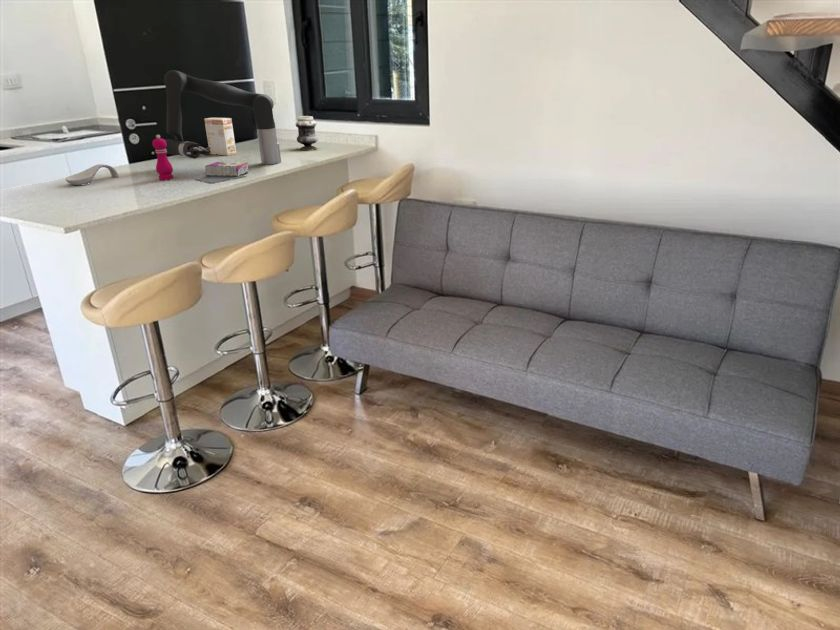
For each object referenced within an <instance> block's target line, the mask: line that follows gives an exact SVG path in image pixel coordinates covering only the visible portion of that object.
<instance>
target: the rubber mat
mask: <svg viewBox="0 0 840 630" xmlns="http://www.w3.org/2000/svg"><path fill="white" fill-rule="evenodd" d="M242 177H243V178H247V175H244V174H242V175H240V176H205V177H200V178H195V179H194V180H195V181H198V180H199V182H202V181H204V182H203V183H207V182H208V184H211V183H212V184H216V183H215V182H217V183H221V182H220V181H222V182H226V181H225V180H227V181H231V180H230V179H233V180H237V178H238V179H242Z"/></svg>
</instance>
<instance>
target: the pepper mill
mask: <svg viewBox="0 0 840 630" xmlns="http://www.w3.org/2000/svg"><path fill="white" fill-rule="evenodd" d="M165 140H166V139H164V138H161V135H160V134H156V135H155V138H154V139H153V140H152V147H153V148H154V149H155V150H154V153H156V157H157V158H156V159H157V162H156V166H155V171H156V173H157V174H158V179H159V181H170V179H171V180H173V179H174V174H173V171H174V169H173V166H172V164H171V161H169V158H168V155H167V153H166V152H167V149H165V148H166V146H167V143H166V141H165Z"/></svg>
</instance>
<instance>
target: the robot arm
mask: <svg viewBox="0 0 840 630" xmlns="http://www.w3.org/2000/svg"><path fill="white" fill-rule="evenodd" d="M164 87H165V92H166V93H165V94H166V133H167V134H168V135H171V136H173V137H174V138H175V139H170V138H169V139H168V138H167V139H164V140H165V141H166V143H167V146H166V148H165V149H167V152H166V155H167V154H168V155H175V156H176V155H178V156H180V157H185V158H188V159H194V160H195V159H198V158H200V156H210V155H211V154H210V153H211V148H210V147H209V146H208V147H206V148H205V147H203V146H201V144H199V143H197V142H195V141H188V140H187V141H184V138H183V136H184V135H183V132H182V131H183V129H182V128H183V127H182V125H183V115H182V114H183V113H182V108H181V95H182V92H185V93H190V94H191V93H192V94H195V95H196V94H197V95H199V96H201V97H204V98H206V99H207V100H210V101H213V102H217V103H221V104H226V105H229V106H230V105H231V106H241V107H246V108H249V109H252V110H253V117H254V122H255V125H256V132H257V140H258V147H259V154H260V162H261V163H260V164H262V165H276V164H279V163H282V158H281V150H280V149H281V148H280V142H278V136H277V130H276V122H275V119H274V112H273V109H274V106H275V105H274V101H273V98H272V97H270V96H269V95H267V94H265V93H264V94H263V93H258V92H250V91H246V90H244V89H242V88H238V87H235V86H232V85H229V84H227V83H223V82H220V81H215V80H209V79H203V78H197V77H195V76H192V75H189V74H186V73H185V72H182V71H179V70H174V69H171V70H168V71H167V72H166V73H165V74H164Z"/></svg>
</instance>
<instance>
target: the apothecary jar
mask: <svg viewBox="0 0 840 630" xmlns="http://www.w3.org/2000/svg"><path fill="white" fill-rule="evenodd" d="M295 126H296V128H297V131H298V135H297V137H296V141H297V143H299V144H301V145H303V146H301V147H300V148H299V150H300V151H313V150H312V149H315V150H317V149H316V148H317V147H316V146H315V145H314V144H316V143H317V142H318V141H319V138H318V136H317V134H316V129H315V128H316V126H317V121H315V120H314V117H313V115H312V116H310V115H302V116H301V115H300V116H298V117H297V120H296V121H295Z"/></svg>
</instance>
